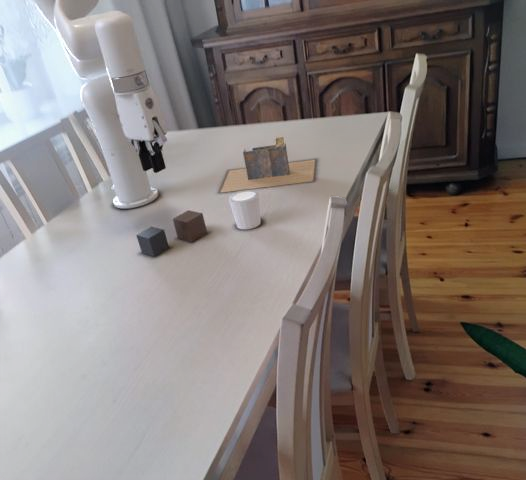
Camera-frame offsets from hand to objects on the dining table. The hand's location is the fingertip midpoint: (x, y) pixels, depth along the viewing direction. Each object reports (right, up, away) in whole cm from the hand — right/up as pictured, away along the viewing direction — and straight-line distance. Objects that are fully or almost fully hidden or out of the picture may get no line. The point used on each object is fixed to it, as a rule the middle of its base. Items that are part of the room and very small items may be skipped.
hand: (154, 169), depth 129 cm
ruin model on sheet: (+26, +7, +28) cm, 39 cm away
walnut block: (+8, -14, +4) cm, 17 cm away
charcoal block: (0, -18, +1) cm, 18 cm away
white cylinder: (+21, -12, +5) cm, 25 cm away
